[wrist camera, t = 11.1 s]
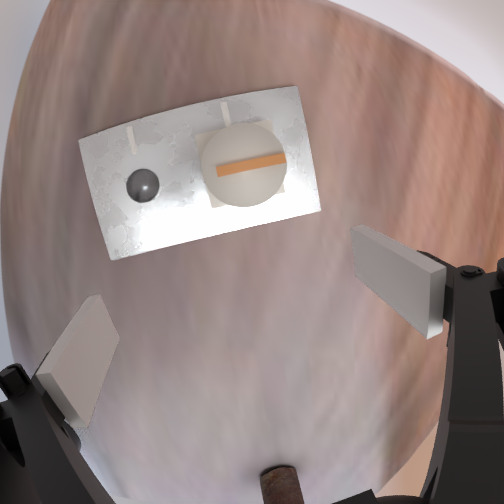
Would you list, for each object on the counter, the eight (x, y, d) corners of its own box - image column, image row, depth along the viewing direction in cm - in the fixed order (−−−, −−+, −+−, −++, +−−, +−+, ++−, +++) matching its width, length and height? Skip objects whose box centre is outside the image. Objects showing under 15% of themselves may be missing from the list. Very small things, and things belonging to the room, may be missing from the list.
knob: (211, 202, 33) (212, 217, 26) (196, 136, 30) (192, 133, 23) (276, 187, 33) (295, 198, 26) (263, 122, 31) (279, 115, 24)
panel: (114, 257, 34) (103, 270, 30) (82, 140, 30) (66, 139, 26) (317, 208, 36) (330, 216, 32) (294, 87, 31) (305, 79, 27)
